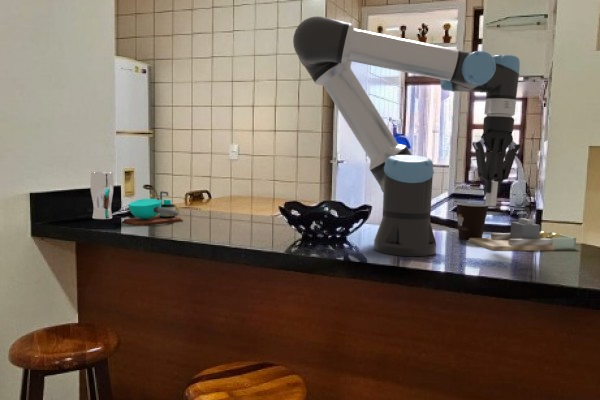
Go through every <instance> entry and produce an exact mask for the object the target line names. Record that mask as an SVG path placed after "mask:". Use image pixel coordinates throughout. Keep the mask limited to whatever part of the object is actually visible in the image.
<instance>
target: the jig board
mask: <svg viewBox="0 0 600 400" xmlns="http://www.w3.org/2000/svg"><path fill="white" fill-rule="evenodd" d="M468 243H470V244H473V245H475V246H476V245H477V246H478V247H480V248H481V247H482V248H484V249H488V250H490V251H555V250H556V249H555V246H554V245H552V244H553V239H510V232H504V233H503V232H497V233H496V232H494V233H493V232H492V233H490V237H482V238H469V240H468Z"/></svg>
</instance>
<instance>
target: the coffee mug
mask: <svg viewBox="0 0 600 400" xmlns="http://www.w3.org/2000/svg"><path fill="white" fill-rule="evenodd" d="M488 208H489V205H485V203H474V202H457V203H456V217H457V230H458V231H457V233H458V239H460V240H462V241H463V240H464V241H469V238H483V234H484V231H485V230H484V228H485V225H486V218H487V213H488Z"/></svg>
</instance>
